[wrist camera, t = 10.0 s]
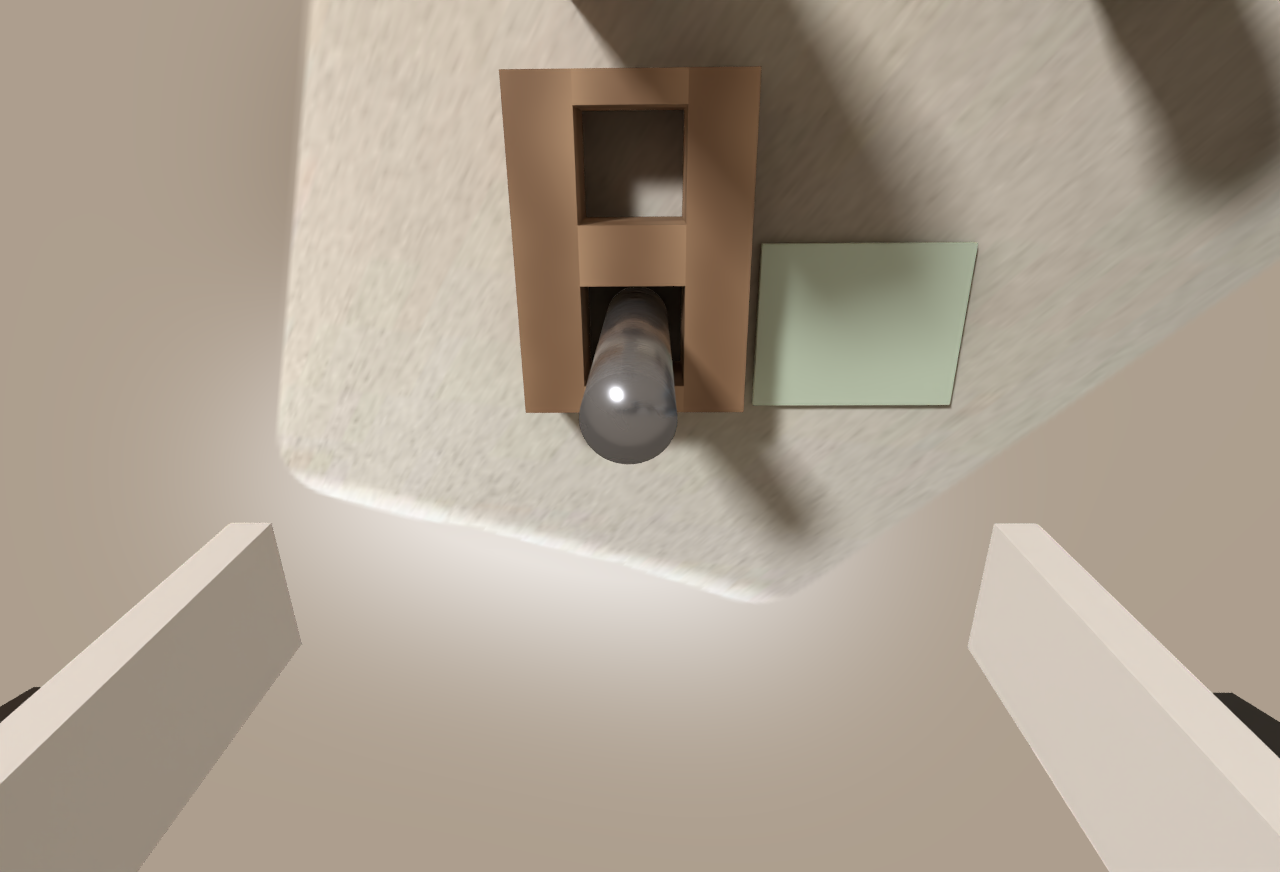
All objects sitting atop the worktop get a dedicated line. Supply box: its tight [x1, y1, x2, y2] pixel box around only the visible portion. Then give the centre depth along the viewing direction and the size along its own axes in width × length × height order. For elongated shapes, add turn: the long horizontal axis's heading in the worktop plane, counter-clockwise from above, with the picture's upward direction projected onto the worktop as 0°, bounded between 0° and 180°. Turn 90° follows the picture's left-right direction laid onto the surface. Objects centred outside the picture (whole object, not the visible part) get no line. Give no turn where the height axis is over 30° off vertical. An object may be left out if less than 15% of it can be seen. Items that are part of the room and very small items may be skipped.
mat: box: [752, 242, 978, 406], centre depth 33 cm, size 10×8×1 cm
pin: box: [579, 286, 677, 464], centre depth 27 cm, size 3×3×14 cm
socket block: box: [499, 66, 761, 413], centre depth 30 cm, size 10×14×4 cm
